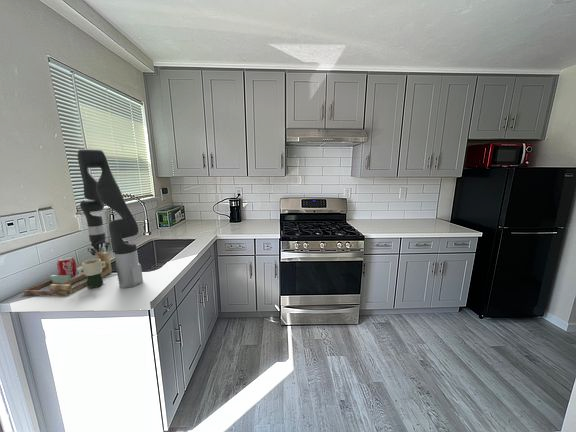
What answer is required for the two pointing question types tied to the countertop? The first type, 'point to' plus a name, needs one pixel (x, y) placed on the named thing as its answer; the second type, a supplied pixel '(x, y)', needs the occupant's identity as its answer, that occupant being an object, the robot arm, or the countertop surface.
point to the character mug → (93, 272)
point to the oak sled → (83, 276)
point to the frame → (35, 291)
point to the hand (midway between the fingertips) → (101, 260)
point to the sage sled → (66, 278)
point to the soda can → (67, 266)
